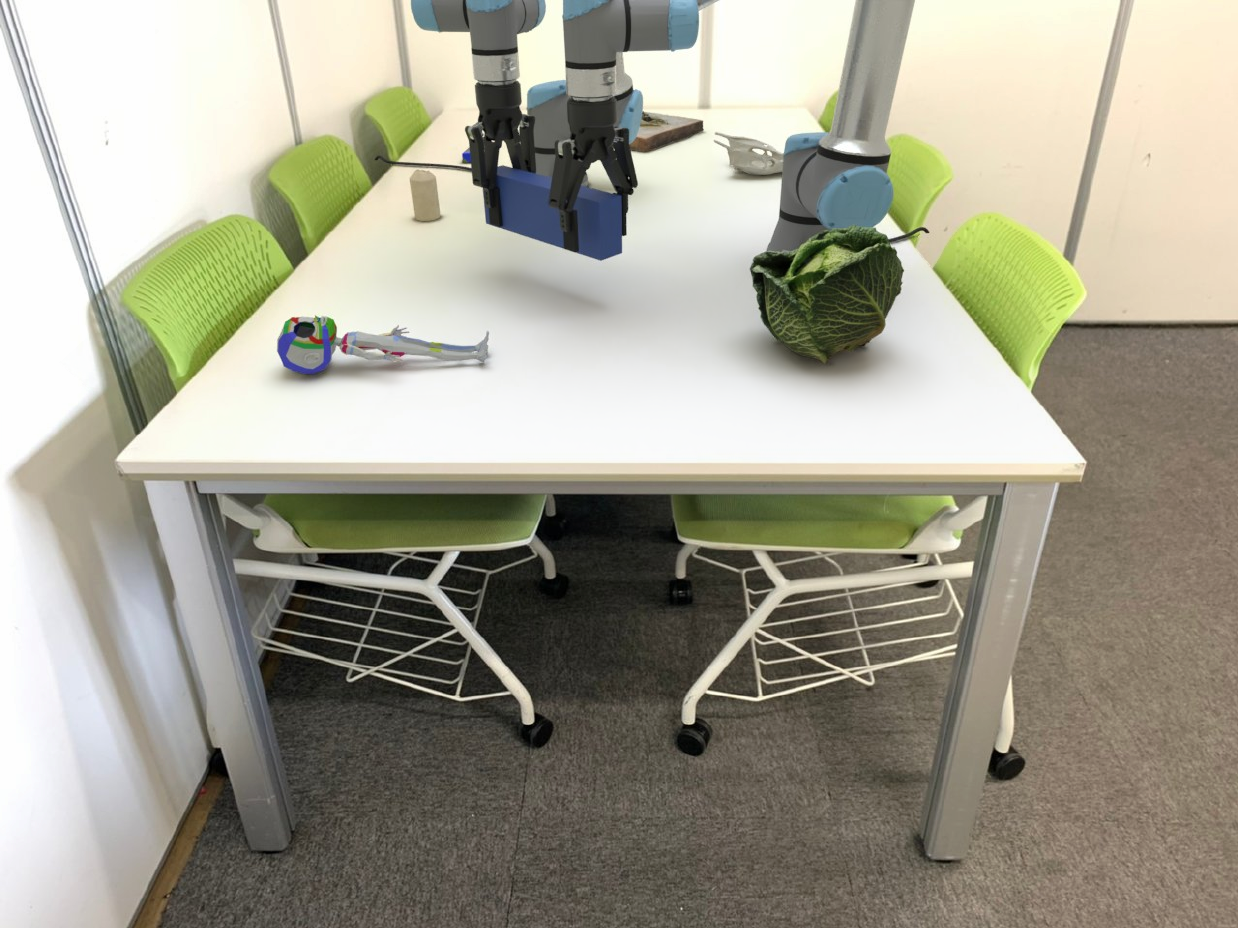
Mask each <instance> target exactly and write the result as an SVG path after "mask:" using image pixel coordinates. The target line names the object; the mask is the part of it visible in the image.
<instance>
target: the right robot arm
mask: <svg viewBox="0 0 1238 928" xmlns="http://www.w3.org/2000/svg"><path fill="white" fill-rule="evenodd" d="M719 1H720V0H562V15H561V16H562V27H563V28H562V29H563V46H564V70H565V71H564V72H565V80H566V94H567V95H568V96H570V98H569V99H568V100H567V121H568V123H569V125H570V127H571V135H570V138H569V139H568V140H565V141H561V140H556V141H555V156H556V157H555V163H554V169H553V175H552V182H551V188H550V194H549V200H548V206H549V207H551V208H554V209H558V210H559V215H560V228H561V230H562V231H563V241H564V249H563V250H566V251H569V252H571V253H574V254H575V253H576V252H579V241H578V216H577V210H573V207H574V204H575V202H576V199H577V196H578V193H579V190H580V187H581V184H582V181H583V178H584V176H585V173H587V171H588V170H590V168H591V165H592V164H594V163H596V162H598V161H599V162H600V163H601V165H602V167H603V169H604V171H605V173H606V175H607V177H608V179H609V181H610V183H611V185H612V187H613V189H614V192H611V193H612V194H616V195H620V196H621V204H622V237H625V236H627V235H628V234H627V233H628V232H627V231H628V230H627V214H628V212H629V196H632V195H634V192H635V191H634V189H636V188H637V187H638V185H639V182H638V177H637V173H636V168H635V164H634V163H635V162H634V160H633V155H632V151H631V149H630V145H629V129H628V128H623V127H618V126H615V127H614V126H613V125H614V124H615V123H616V122H617V100H616V99H615V97H613V95H614V94H615V93H616V53H617V52H623V53H629V52H664V51H665V52H667V51H671V52H675V51H681V50H689V49H692V48H693V47H694V46H695V44H696V43H697V40H698V37H699V29H700V11H702V10H703V9H706V8H707V7H709V6H711V5H713V4H715V3H718V2H719ZM915 3H916V0H855V1H854V7H853V11H852V19H851V23H850V26H849V33H848V38H847V44H846V50H845V55H844V58H843V64H842V65H843V66H842V70H841V75H840V81H839V86H838V91H837V95H836V101H835V106H834V112H833V117H832V122H831V127H830V130H829V132H827V131H818V132H802V133H795V134H791V135H790V136H788V137H787V138H786V141H785V144H784V151H783V152H782V153H783V170H782V172H781V184H780V185H781V186H780V197H779V198H780V199H779V211H778V212H779V213H778V218H777V219H778V220H777V222H776V225H775V226H774V230H773V233H772V236H771V239H770V241H769V243H768V244H767V247H766V251H765V252H767V251H775V252H776V251H781V252H791V251H793V250H796V249H798V248H800V246H801V245H802V244H804V243H806V241H807V240H808V239H809V238H811V237H813V236H815V235H817V234H818V233H820V232H822V231H825V230H831V229H834V228H838V229H841V228H848V227H850V226H852V225H856V226H855V227H857V226H861V227H873V228H875V226H877V225H878V224H880V223H881V222H882V221H883V220H884V218H885V217H886V216H887V214H888V213H889V211H890V209H891V207H892V204H893V200H894V186H893V182H892V181H891V177H890V176H889V174H888V173H887V172H888V170H889V165H890V159H891V155H892V148H891V147H890V145H889V144H888V142H887V141H886V134H887V128H888V125H889V121H890V120H889V119H890V114H891V111H892V105H893V101H894V97H895V93H896V88H897V84H898V78H899V74H900V71H901V65H902V61H903V57H904V53H905V48H906V43H907V38H908V34H909V29H910V25H911V21H912V17H913V11H914V8H915ZM612 143H613V146H614V147H612ZM578 159H580V160H581V161H582V162H581V161H578ZM566 200H567V203H566ZM919 232H924V233H925V234H930V233H931V232H930V231H929V229H928V228H926V227H924V226H920V227H917V228H915V229H913V230H912V231H910V232H908V233H905V234H902V235H899V236H895V237H892V238H888V239H889V243H894V242H897V241H901V240H904V239H907V238H910V237H912V236H914V235H915V234H917V233H919ZM576 254H577V253H576Z"/></svg>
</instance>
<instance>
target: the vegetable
mask: <svg viewBox="0 0 1238 928" xmlns="http://www.w3.org/2000/svg"><path fill="white" fill-rule="evenodd" d="M855 226H856V225H852V226H850V227H848V228H841V229H838V228H834V229H831V230H825V231H822V232H820V233H818V234H817V235H815V236H813V237H811V238H809V239H808V240H807V241H806V243H804V244H802V245H801V246H800V248H798V249H796V250H793V251H791V252H781V251H776V252H775V251H767V250H766V251H767V252H766V251H764V252H762V253H759V254H757V255H755V256H754V257H753V259H752V263H751V264H750V267H749V271H750V275H751V280H752V287H753V289H754V291H755V292H756V302H757V304H758V310H759V312H760V319H761V321H762V323H763V325H764V326H765V327H766V328H767V329H768V331H769V333H770V334H771V335H772V336H773V338H774V339H775V341H781V342H782V343H783V344H784V345H785V346H786V347H787V348H788V349H789V350H791V351H792V352H794V353H796V354H798V355H800V356H803V357H806V358H810V359H811V358H813V359H816V360H818V361H820V362H821V363H823V364H824V365H825V364H826V363H827V361H832V358H831V356H833V355H835V354H836V353H838V352H839V351H846V352H849V353H853V352H854V350H855V349H857V347H858V348H859V347H860V348H861V347H865V346H866V344H869V343H870V342H871V341H872V339H874V338H876V337H877V336H880V335H881V334H882V333H883V331H884V330H885V327H886V325H887V324H886V319H887V317H888V315H889V313H890V311H891V309H892V307H893V305H894V303H895V300H896V298H897V296H899V295H900V294H901V292H902V285H903V283H904V282H903V281H902V279H903V274H904V272H905V270H904V268H903V265H902V264H903V263H902V260H901V259H900V258H899V256H898V251H897V248H896V247H895V246H894V247H892V245H891V244H890V243H891V242H890V243H889V239H890V238H889V237H888V235H887V234H885V233H883V232H880V231H878V230H877V227H861V226H857V227H855Z"/></svg>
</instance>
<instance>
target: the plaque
mask: <svg viewBox="0 0 1238 928" xmlns="http://www.w3.org/2000/svg"><path fill="white" fill-rule="evenodd" d="M704 130H705V129H704V120H702V119H698V118H693V117H685V116H679V115H669V114H663V113H659V112H650V111H644V110H643V112H642V119H641V124H640V128H639V131H638V134H637V136H636V138H635V140H634V141H633V142H632V143H630V144H629V145H630V150H632V151H640V152H648V151H654V150H656V149H659V148H662V147H663V146H664V147H665V146H667V145H670V144H672V143H676V142H680V141H682V140H684V139H687V138H691V137H692V136H694V135H696V134H698V133H700V132H704ZM612 147H613V148H614V146H613V144H612Z"/></svg>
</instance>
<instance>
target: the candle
mask: <svg viewBox="0 0 1238 928" xmlns="http://www.w3.org/2000/svg"><path fill="white" fill-rule="evenodd" d="M409 183H410V193H411V199H412V207H413V214H414V218H415V220H417V221H421V222H423V221H424V222H429V221H430V222H431V221H434V220H438V219H440V218H441V207H440V200H439V199H440V198H439V190H438V182H437V176H436V175H435V174H434V173H432V172H431V171H430V170H424V169H415V170H414V172H413V173H412V174H411V175H410V177H409Z"/></svg>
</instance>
